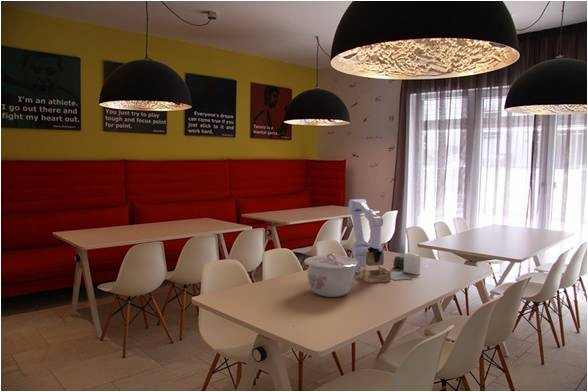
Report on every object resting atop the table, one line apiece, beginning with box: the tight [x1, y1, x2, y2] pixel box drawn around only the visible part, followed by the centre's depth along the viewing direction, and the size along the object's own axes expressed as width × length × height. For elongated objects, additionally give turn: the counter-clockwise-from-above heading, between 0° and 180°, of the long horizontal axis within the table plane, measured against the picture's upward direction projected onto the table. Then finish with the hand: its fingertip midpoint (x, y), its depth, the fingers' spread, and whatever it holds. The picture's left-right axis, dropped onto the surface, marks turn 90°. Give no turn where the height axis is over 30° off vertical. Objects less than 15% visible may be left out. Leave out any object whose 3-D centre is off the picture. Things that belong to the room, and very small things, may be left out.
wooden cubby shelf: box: [358, 265, 392, 284], centre depth 262 cm, size 13×13×6 cm
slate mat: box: [390, 271, 412, 281], centre depth 268 cm, size 14×11×1 cm
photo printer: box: [403, 252, 421, 276], centre depth 276 cm, size 10×4×12 cm, turn 39°
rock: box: [393, 252, 406, 270], centre depth 291 cm, size 18×11×8 cm, turn 150°
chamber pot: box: [303, 252, 358, 298], centre depth 234 cm, size 28×28×21 cm
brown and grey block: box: [366, 251, 385, 267], centre depth 261 cm, size 4×9×7 cm, turn 108°
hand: (374, 261), depth 261 cm, fingers closed on brown and grey block, 4 cm apart
